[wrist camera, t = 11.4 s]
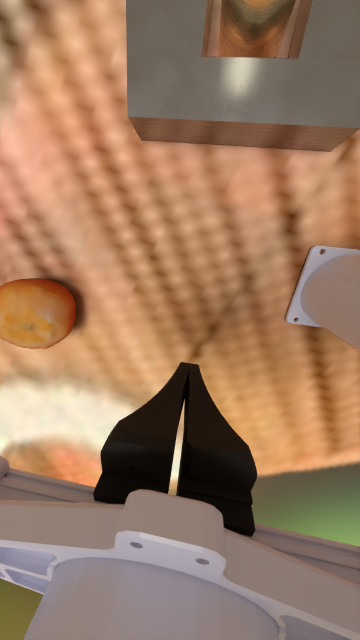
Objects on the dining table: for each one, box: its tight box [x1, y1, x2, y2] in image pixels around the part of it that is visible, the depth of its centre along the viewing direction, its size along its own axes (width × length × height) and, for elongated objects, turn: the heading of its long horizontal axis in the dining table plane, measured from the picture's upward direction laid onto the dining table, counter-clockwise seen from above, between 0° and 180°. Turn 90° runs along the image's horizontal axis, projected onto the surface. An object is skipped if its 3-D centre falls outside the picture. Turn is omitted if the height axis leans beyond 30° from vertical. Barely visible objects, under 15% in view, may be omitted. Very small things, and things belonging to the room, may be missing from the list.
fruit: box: [0, 278, 76, 349], centre depth 20 cm, size 8×8×8 cm
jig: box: [126, 0, 360, 151], centre depth 11 cm, size 16×12×3 cm
